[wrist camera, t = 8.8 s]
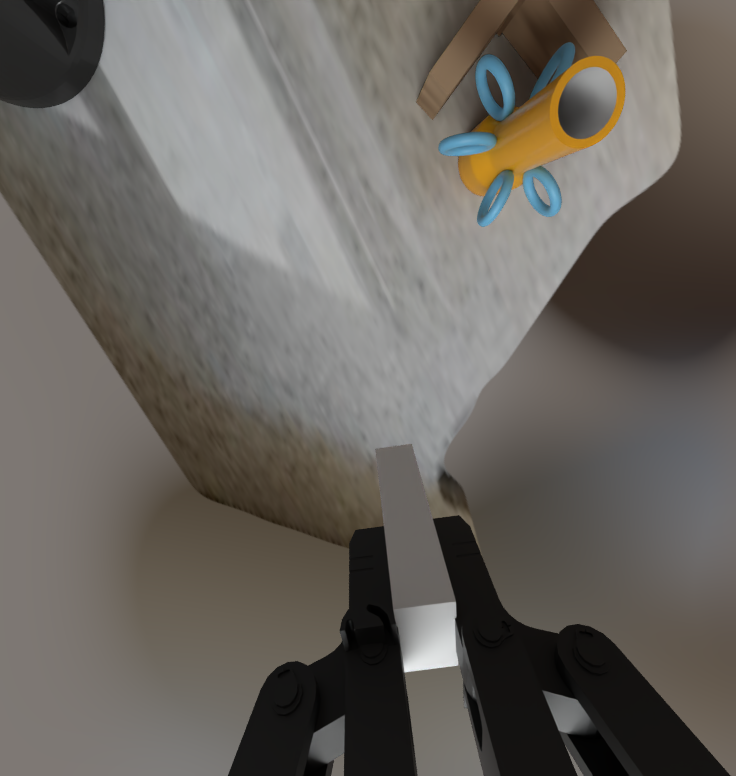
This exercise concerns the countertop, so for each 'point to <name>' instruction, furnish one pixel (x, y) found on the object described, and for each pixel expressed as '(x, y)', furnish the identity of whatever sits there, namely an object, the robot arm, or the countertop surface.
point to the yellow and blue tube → (535, 128)
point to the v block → (520, 40)
